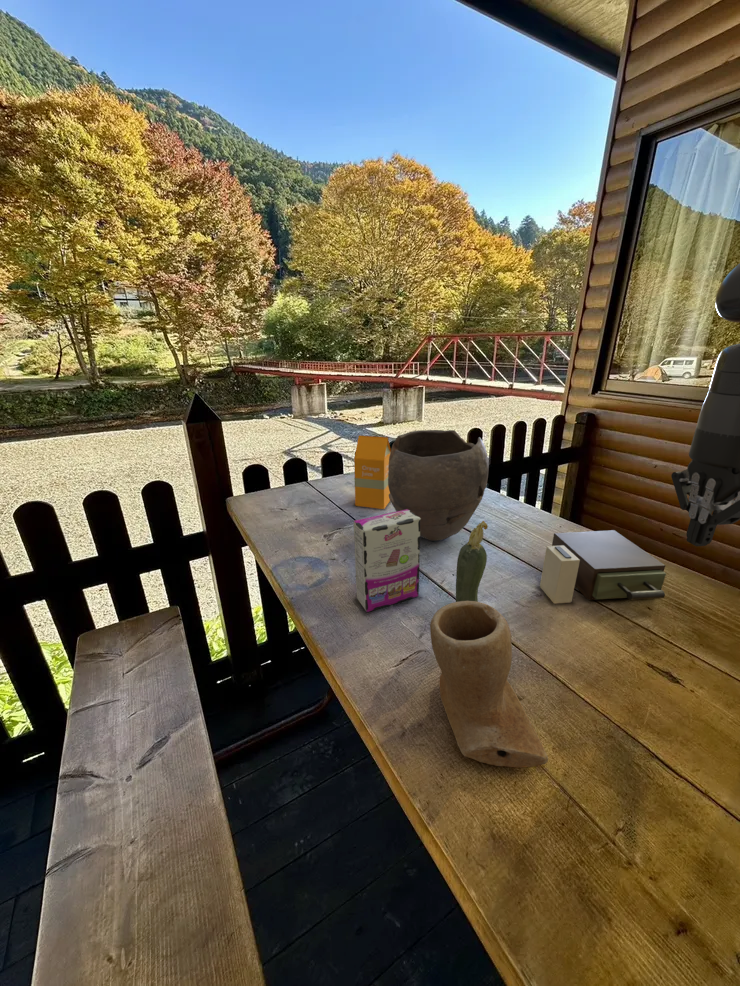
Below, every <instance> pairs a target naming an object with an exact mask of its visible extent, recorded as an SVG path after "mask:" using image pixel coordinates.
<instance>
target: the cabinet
mask: <svg viewBox="0 0 740 986" xmlns="http://www.w3.org/2000/svg"><path fill="white" fill-rule="evenodd" d="M561 545H564V546H565V547H566V548H567V549H568V550H569V551H570V552H572V553H573V554H574V555H575V556H576V557H577V558H578V559H579V560H580V562H579V567H578V572H577V577H576V582H575V587H574V588H576V589H577V590H578V591H579V592H580V594H582V595H583V596H584V597H585V598H586V599H587V601H592V600H596V599H595V598H594V597H593V596H592V595H593V591H594V586H595V582H596V577H597V574H598V573H601V572H619V571H637V570H662V571H664V572H665V568H666V564H664V563H663V562H661V561H660V560H658V559H657V558H656V557H654V556H652V555H651V554H650V553H648V552H647V551H645V550H644V549H642V548H641V547H640V546H638V545H637V544H635V543H634V542H633V541H631V540H629V539H628V538H626V537H625V536H624V535H622V534H620V533H619V532H618V531H616V530H615V529H611V530H591V531H589V530H587V531H568V532H554V533H553V538H552V543H551V546H561Z"/></svg>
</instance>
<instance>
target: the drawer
mask: <svg viewBox="0 0 740 986" xmlns="http://www.w3.org/2000/svg"><path fill="white" fill-rule="evenodd" d="M666 575H667V573H666V572H665V570H664V571H662V570H637V571H619V572H601V573H598V574H597V577H596V582H595V586H594V591H593V595H592V596H593V597H594V598H595V599H594V600H608V599H609V600H610V599H625V598H627V599H628V600H630V601H635V600H651V599H652V600H653V599H663V598H665V597H666V593H665V591H664V590H663V585H664V581H665V579H666Z"/></svg>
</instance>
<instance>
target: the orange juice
mask: <svg viewBox="0 0 740 986" xmlns="http://www.w3.org/2000/svg"><path fill="white" fill-rule="evenodd" d="M390 453H391V446H390V441H389V437H388V436H375V435H360V434H359V435H358V437H357V443H356V448H355V453H354V456H353V467H354V479H353V480H354V505H355V507H361V508H370V509H379V510H385V509H386V507H387V506H388V504H389V503H391V501H390V499H389V494H390V491H389V487H388V472H389V470H388V466H389V457H390Z"/></svg>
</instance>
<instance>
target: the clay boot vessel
mask: <svg viewBox="0 0 740 986" xmlns="http://www.w3.org/2000/svg"><path fill="white" fill-rule="evenodd" d="M429 629H430V642H431V647H432V652H433V654H434V657H435V660H436V662H437V665H438V667H439V669H440V671H441V674H440V676H439V679H438V684H439V685H438V686H439V695H440V700H441V703H442V706H443V708H444V712H445V713H446V716H447V720H448V722H449V725H450V727H451V731H452V732H453V736H454V738H455V741H456V744H457V746H458V749H459V751H460V753H461V754H462V755H463V756H464V757H465V758H470V759H472V760H474V761H477V762H479V763H481V764H483V763H484V764H487V765H492V766H496V767H507V768H517V769H518V768H533V767H537V766H543V765H546V764H547V763H548V762H549V756H548V753H547V751H546V750H545V747H544V745H543V743H542V741H541V739H540V737H539V735H538V733H537V731H536V729H535V727H534V725H533V724H532V721H531V720H530V718H529V717H528V714H527V713H526V710H525V708H524V706H523V705H522V703H521V701H520V699H519V697H518V696H517V694H516V692H515V690H514V689H513V687H512V686H511V684H510V682H509V681H508V680H507V679H508V676H509V674H510V672H511V668H512V658H513V647H512V644H513V642H512V632H511V629H510V625H509V623H508V622H507V619H506V618H505V617H504V615H503V614H501V613H500V612H499V611H498V610H497V609H495V607H493V606H491V605H489V604H487V603H484V602H480V601H478V602H476V601H459V602H456V601H453V602H450V603H448V604H445V605H443V606H441V607H440V608H438V609H437V611H436V612H435V613H434V614H433V616H432V618H431V619H430V624H429Z"/></svg>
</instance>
